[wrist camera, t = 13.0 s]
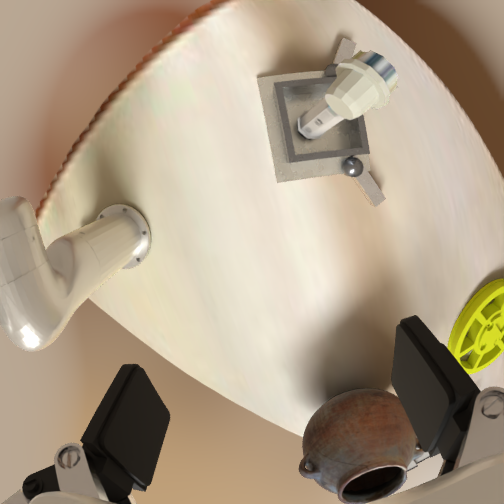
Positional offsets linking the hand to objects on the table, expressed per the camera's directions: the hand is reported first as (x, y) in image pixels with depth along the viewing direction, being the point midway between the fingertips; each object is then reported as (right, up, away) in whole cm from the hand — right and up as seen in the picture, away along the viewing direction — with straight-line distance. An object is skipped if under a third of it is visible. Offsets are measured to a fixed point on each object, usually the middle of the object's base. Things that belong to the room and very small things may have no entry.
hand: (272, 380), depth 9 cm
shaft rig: (+10, +25, +32) cm, 42 cm away
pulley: (+62, -15, +44) cm, 77 cm away
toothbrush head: (+9, +25, +32) cm, 41 cm away
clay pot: (+24, -32, +51) cm, 65 cm away
